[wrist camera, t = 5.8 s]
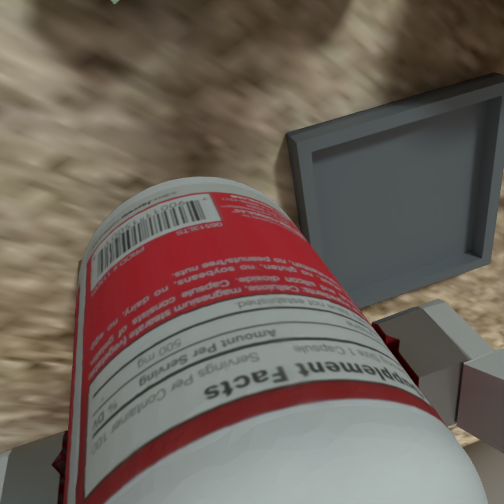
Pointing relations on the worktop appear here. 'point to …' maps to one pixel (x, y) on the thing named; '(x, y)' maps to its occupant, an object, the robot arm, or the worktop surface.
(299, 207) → the tray
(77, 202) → the worktop surface
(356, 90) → the worktop surface
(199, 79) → the worktop surface
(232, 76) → the worktop surface
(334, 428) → the pill bottle
